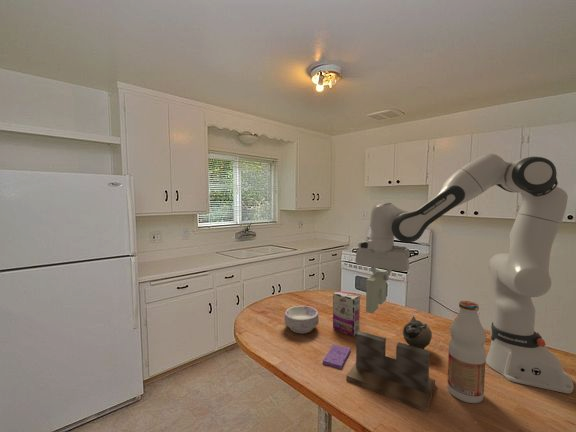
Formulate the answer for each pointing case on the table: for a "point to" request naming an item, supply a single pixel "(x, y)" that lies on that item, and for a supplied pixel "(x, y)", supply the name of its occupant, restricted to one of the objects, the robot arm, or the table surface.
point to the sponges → (336, 356)
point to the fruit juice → (467, 355)
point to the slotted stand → (393, 371)
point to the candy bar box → (346, 312)
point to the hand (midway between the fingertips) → (381, 279)
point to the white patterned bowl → (301, 318)
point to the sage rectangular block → (375, 291)
